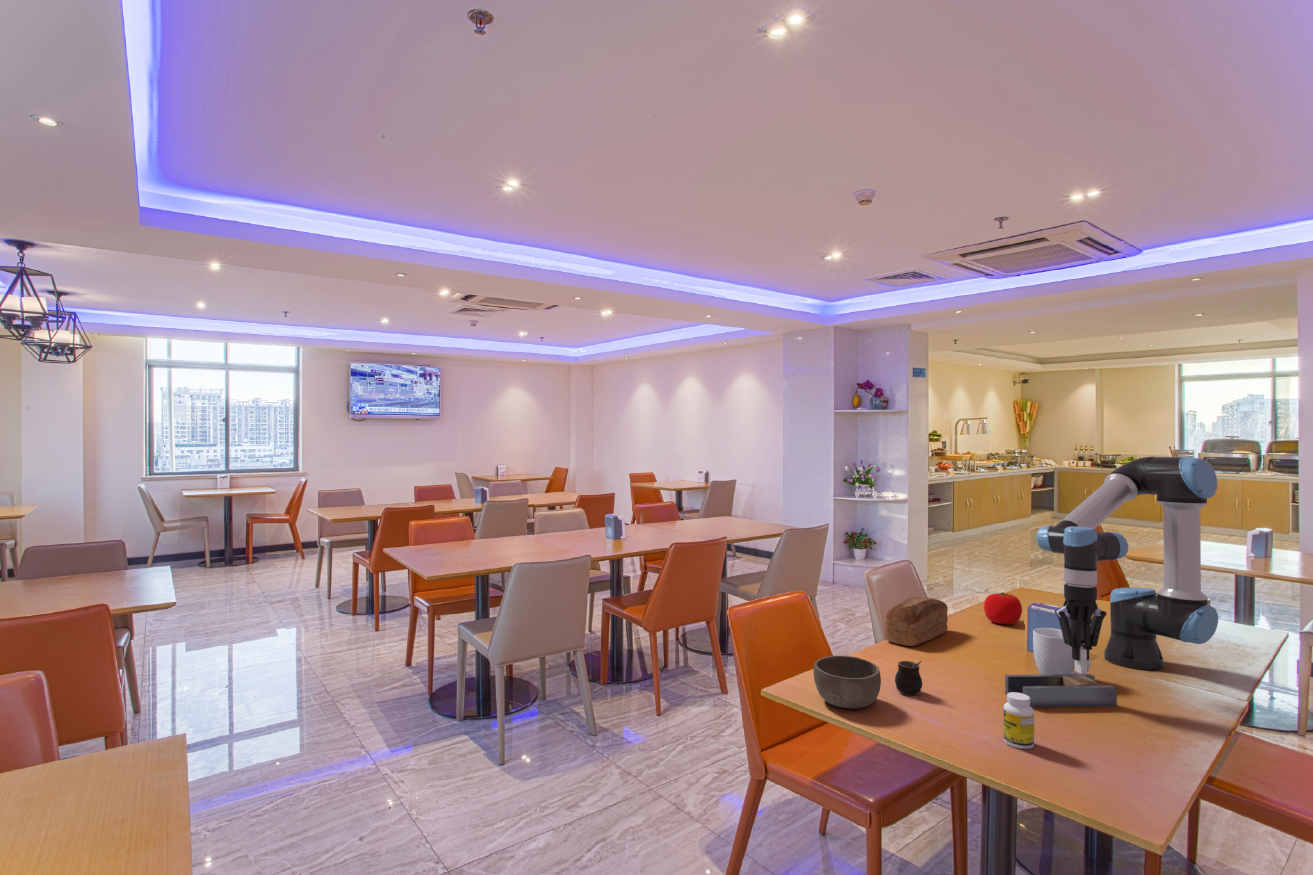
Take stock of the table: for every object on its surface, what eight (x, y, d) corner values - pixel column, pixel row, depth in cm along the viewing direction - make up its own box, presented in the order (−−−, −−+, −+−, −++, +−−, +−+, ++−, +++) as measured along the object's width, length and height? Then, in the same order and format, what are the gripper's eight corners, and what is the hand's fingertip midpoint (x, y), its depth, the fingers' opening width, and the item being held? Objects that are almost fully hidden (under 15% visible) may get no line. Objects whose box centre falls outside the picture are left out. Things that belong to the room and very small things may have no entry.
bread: (953, 632, 240) (952, 595, 240) (913, 650, 219) (913, 610, 219) (920, 625, 249) (920, 590, 249) (880, 642, 228) (879, 604, 228)
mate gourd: (901, 685, 187) (901, 650, 187) (927, 693, 182) (928, 657, 182) (889, 692, 182) (890, 656, 182) (916, 700, 177) (917, 663, 177)
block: (1085, 692, 180) (1085, 676, 180) (1100, 701, 174) (1100, 684, 174) (1062, 692, 180) (1062, 676, 180) (1077, 701, 173) (1077, 684, 174)
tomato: (991, 627, 246) (991, 596, 246) (979, 617, 259) (979, 588, 259) (1028, 628, 243) (1027, 597, 244) (1014, 618, 257) (1014, 589, 257)
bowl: (846, 721, 164) (846, 681, 164) (799, 697, 179) (799, 660, 180) (895, 708, 172) (895, 669, 172) (847, 686, 187) (846, 651, 188)
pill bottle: (997, 738, 154) (997, 691, 154) (1022, 737, 154) (1022, 690, 154) (1014, 750, 148) (1014, 701, 148) (1040, 749, 148) (1040, 700, 148)
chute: (1091, 692, 182) (1090, 674, 182) (1116, 706, 172) (1116, 687, 172) (1005, 693, 181) (1005, 674, 181) (1026, 707, 171) (1026, 688, 171)
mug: (1098, 683, 188) (1098, 637, 189) (1080, 691, 182) (1080, 644, 183) (1044, 668, 201) (1044, 625, 201) (1026, 675, 195) (1025, 631, 195)
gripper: (1094, 581, 181) (1095, 667, 180) (1047, 581, 181) (1048, 667, 180) (1114, 587, 173) (1114, 677, 173) (1065, 587, 173) (1065, 677, 173)
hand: (1080, 672), depth 177 cm, fingers closed
